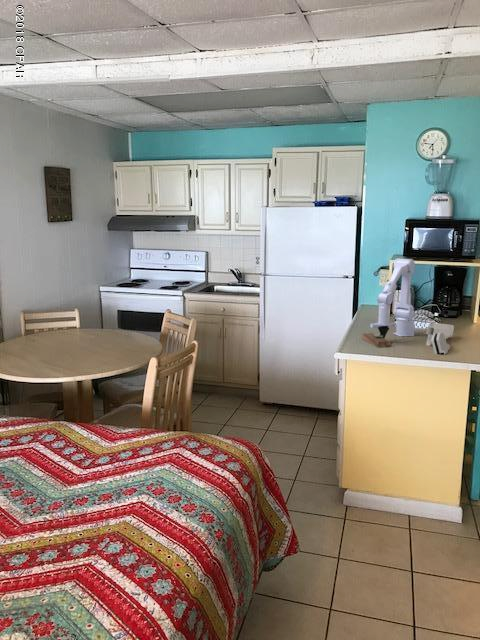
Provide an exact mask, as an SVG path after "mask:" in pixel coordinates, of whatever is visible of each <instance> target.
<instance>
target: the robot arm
mask: <svg viewBox="0 0 480 640" xmlns="http://www.w3.org/2000/svg"><path fill="white" fill-rule="evenodd" d="M415 265H416V263H415V261H414V259H413V258H398V257H396V258H395V259H394V260H393V271H392V273H391V277H390V280H389V281H387V282H386V283H385V285H384V288H382V291H381V292H380V293H379V294H378V295H377V298H376V301H377V307H378V321H377V322H375V323H374V322H373V323H370V328H371V329H375V328H377V329H378V332H379V334H380V335H382V336H383V338H385V339H386V335H387V333H388V331H389V330H390V327H395V328H396V329H395V332H392V334H393V335H396V336H398V337H402V338H403V337H414V336H415V325H416V324H415V321H414V316H415V308H414V306H413V305H412V303H410V298H411V286H412V278H413V277H412V275H413V274H414V273H415ZM400 277H401V283H400V284H401V285H400V297H399V303H397V304H396V305H395V306H394V310H393V316H394V318H395V320H396V321H390V315H391V304H392V303H393V300H394V294H395V291H396V289H397V287H398V285H397V282H398V280H399V279H400Z"/></svg>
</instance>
